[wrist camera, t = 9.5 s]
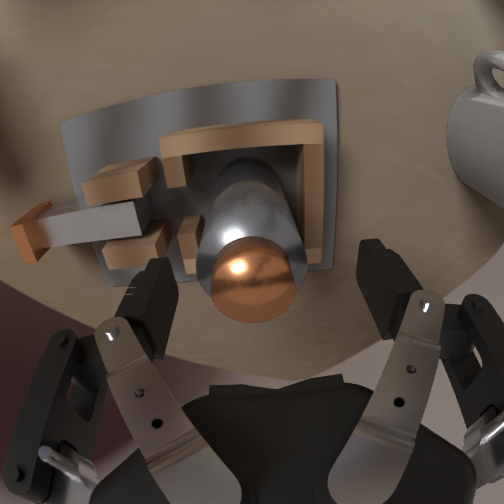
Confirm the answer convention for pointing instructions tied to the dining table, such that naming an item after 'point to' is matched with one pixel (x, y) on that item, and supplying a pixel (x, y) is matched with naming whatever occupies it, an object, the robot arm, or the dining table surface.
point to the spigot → (250, 245)
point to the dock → (206, 164)
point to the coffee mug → (480, 130)
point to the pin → (78, 224)
